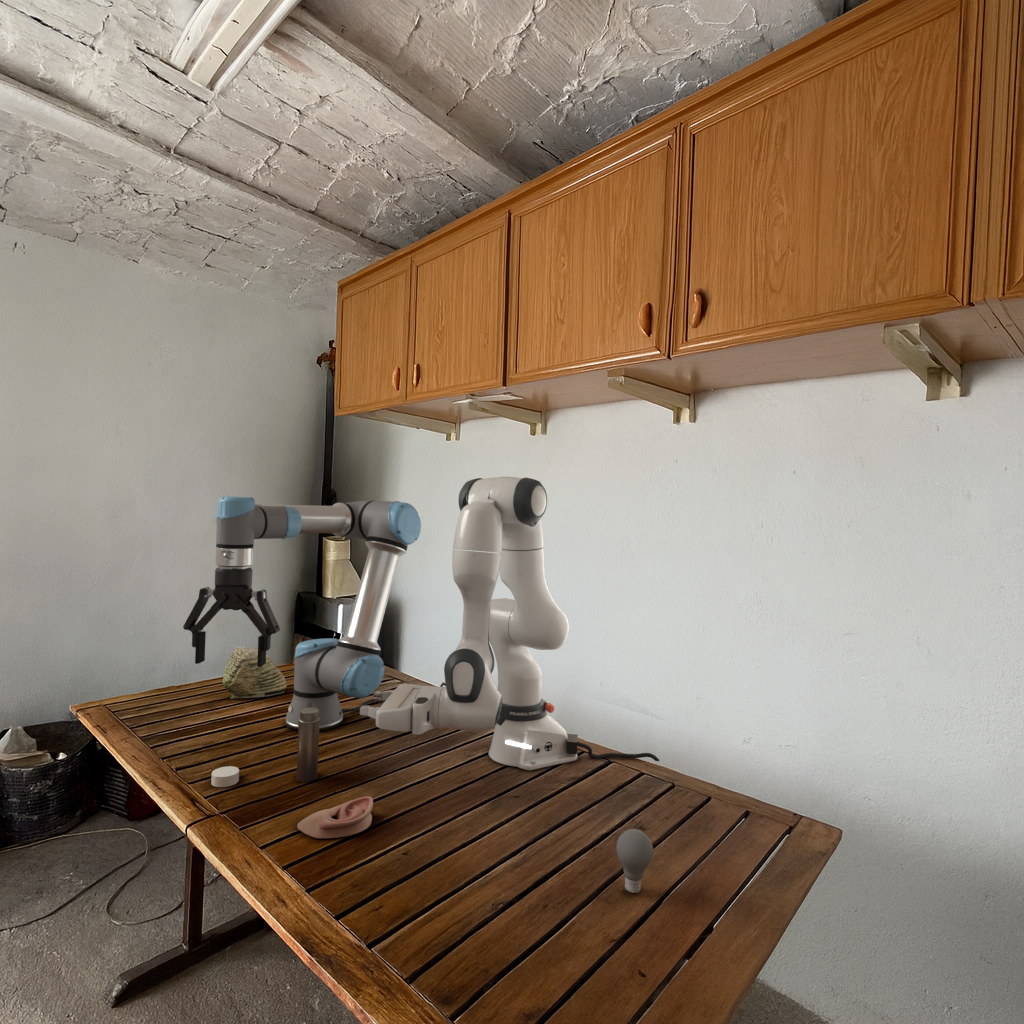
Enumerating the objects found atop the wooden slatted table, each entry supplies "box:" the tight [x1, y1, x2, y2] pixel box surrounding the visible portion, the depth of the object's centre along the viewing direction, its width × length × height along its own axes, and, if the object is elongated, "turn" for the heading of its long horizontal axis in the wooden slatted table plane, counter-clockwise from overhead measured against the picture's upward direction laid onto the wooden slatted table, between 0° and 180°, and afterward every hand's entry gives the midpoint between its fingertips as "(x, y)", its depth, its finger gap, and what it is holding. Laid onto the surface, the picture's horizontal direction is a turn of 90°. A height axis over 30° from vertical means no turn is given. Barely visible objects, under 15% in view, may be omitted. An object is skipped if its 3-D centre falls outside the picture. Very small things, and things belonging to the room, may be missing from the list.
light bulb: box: [615, 828, 654, 894], centre depth 106 cm, size 6×6×10 cm
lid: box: [210, 765, 240, 788], centre depth 139 cm, size 6×6×2 cm
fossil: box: [222, 646, 288, 699], centre depth 198 cm, size 9×18×15 cm, turn 132°
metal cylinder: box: [296, 708, 320, 783], centre depth 142 cm, size 4×4×15 cm
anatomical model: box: [296, 796, 374, 840], centre depth 123 cm, size 13×4×12 cm
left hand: (230, 663), depth 139 cm, fingers open, 13 cm apart
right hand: (367, 702), depth 141 cm, fingers open, 8 cm apart
